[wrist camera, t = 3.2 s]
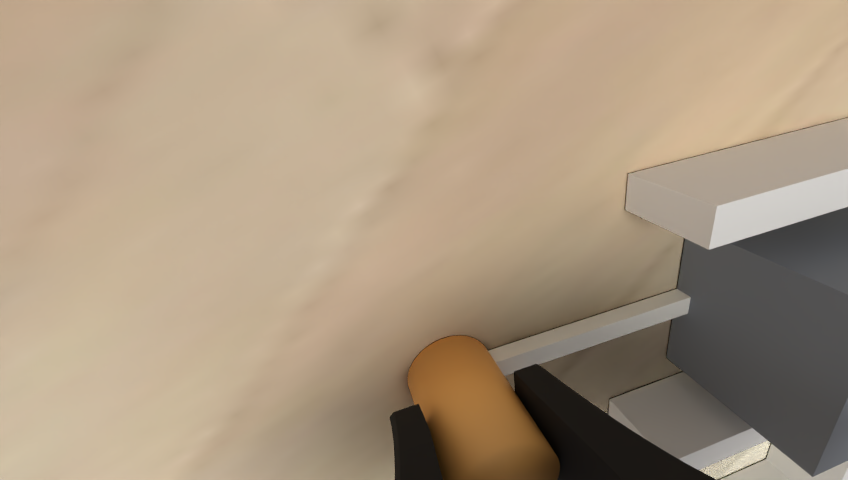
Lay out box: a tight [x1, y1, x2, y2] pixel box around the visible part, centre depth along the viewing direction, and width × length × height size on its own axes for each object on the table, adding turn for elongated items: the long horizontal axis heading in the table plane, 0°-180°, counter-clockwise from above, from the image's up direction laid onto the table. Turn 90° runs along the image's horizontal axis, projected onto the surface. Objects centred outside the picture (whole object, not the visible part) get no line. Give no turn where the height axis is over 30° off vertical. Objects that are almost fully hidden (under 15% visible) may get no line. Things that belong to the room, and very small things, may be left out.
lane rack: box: [608, 118, 848, 480], centre depth 12 cm, size 25×10×2 cm, turn 8°
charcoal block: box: [408, 207, 848, 480], centre depth 11 cm, size 5×14×4 cm, turn 98°
